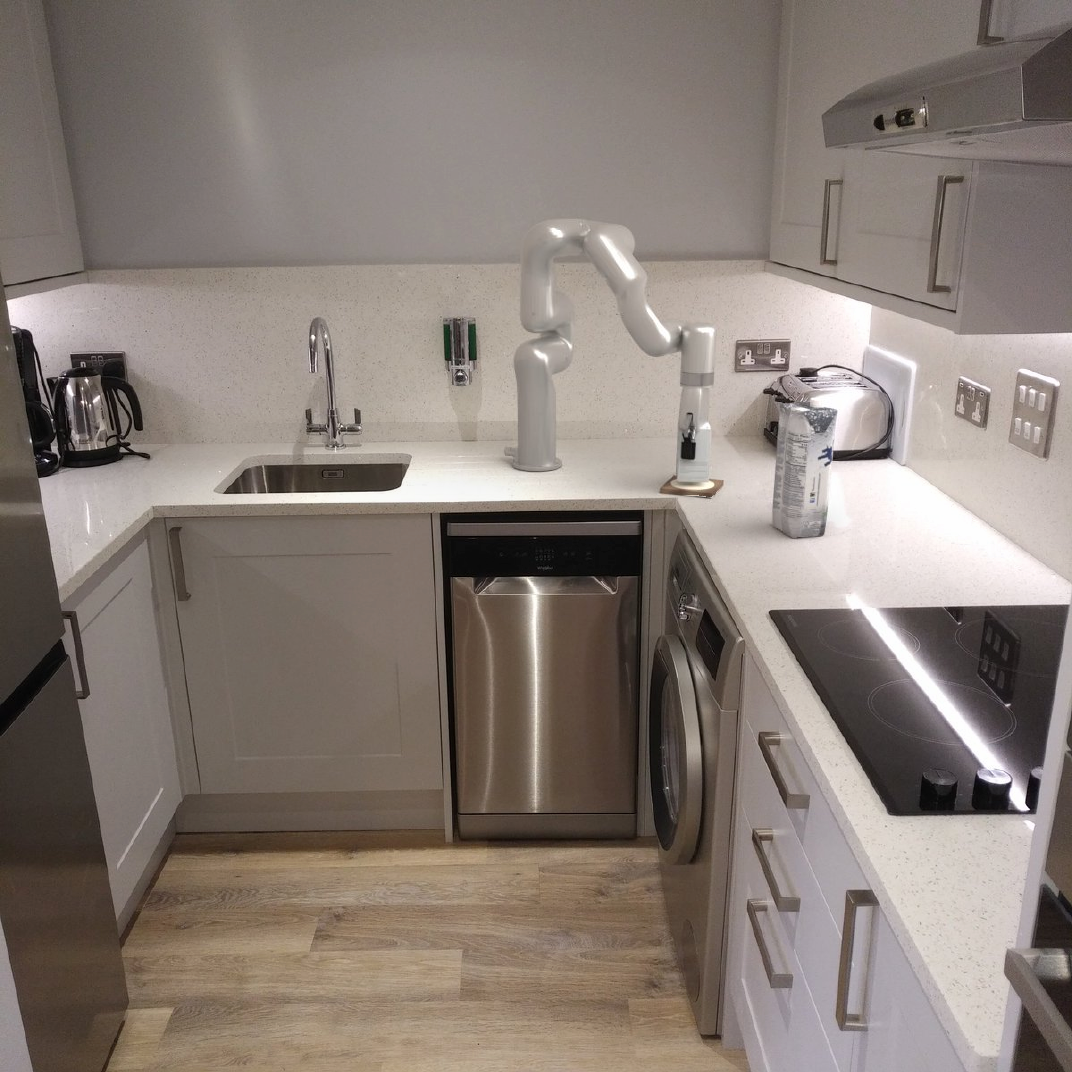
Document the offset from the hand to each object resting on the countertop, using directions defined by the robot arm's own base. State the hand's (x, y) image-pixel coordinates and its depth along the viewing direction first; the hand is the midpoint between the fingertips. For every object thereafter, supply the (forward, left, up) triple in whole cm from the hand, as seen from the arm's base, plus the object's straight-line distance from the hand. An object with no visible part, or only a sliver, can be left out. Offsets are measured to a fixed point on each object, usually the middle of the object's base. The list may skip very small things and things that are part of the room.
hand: (692, 454), depth 232 cm
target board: (0, 0, -8) cm, 8 cm away
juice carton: (+28, -23, -8) cm, 37 cm away
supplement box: (0, 0, -6) cm, 6 cm away
